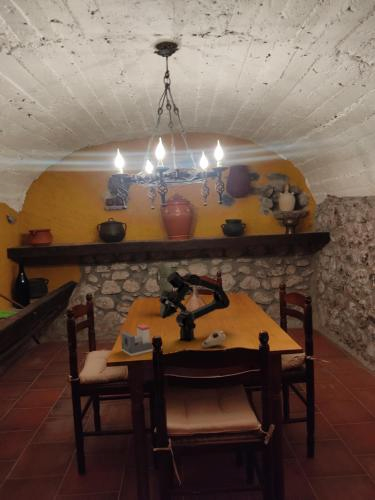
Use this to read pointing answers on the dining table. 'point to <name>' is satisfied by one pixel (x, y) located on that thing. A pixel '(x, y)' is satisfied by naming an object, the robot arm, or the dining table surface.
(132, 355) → the board
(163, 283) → the thermos
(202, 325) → the dining table surface
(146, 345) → the grey toy building
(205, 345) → the pottery oil lamp
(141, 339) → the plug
